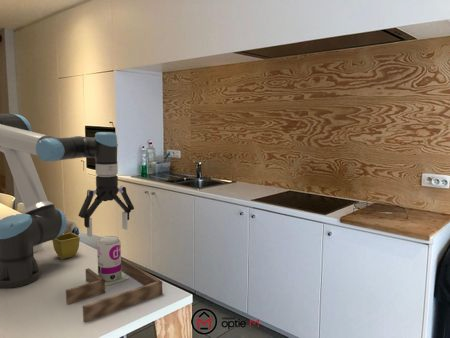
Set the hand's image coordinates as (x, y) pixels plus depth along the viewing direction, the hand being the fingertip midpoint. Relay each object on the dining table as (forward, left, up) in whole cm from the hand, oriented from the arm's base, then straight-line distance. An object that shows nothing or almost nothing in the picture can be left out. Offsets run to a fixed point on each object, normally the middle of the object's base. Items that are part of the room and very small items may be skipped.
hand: (107, 232), depth 135 cm
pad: (0, -1, -18) cm, 18 cm away
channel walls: (-6, -10, -18) cm, 21 cm away
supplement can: (0, 0, -18) cm, 18 cm away
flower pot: (-4, +34, -18) cm, 38 cm away
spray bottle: (-12, +52, -18) cm, 56 cm away
